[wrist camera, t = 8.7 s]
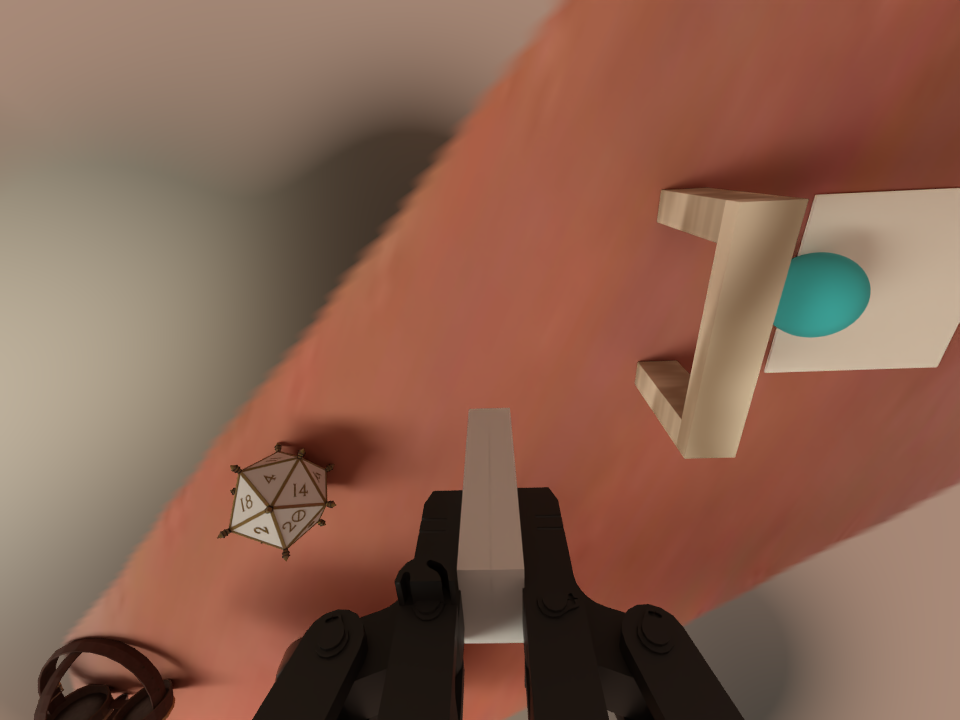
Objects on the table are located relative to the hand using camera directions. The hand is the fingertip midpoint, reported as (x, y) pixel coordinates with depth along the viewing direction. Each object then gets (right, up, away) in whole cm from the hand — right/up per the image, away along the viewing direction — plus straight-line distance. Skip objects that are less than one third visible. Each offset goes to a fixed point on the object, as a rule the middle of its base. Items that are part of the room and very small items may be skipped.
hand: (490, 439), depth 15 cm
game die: (-17, -7, +22) cm, 28 cm away
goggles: (-47, -36, +37) cm, 70 cm away
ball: (+21, +7, +11) cm, 25 cm away
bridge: (+13, +8, +14) cm, 21 cm away
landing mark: (+28, +8, +14) cm, 32 cm away
